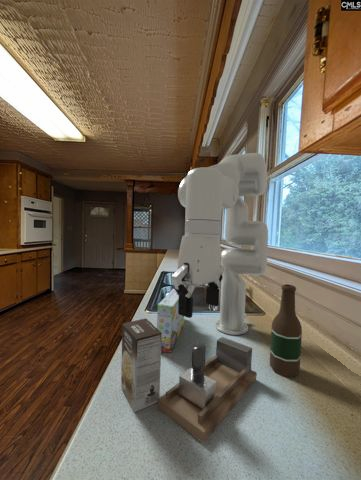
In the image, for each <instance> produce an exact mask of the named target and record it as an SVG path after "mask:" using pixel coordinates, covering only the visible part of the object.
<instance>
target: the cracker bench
mask: <svg viewBox="0 0 361 480" xmlns="http://www.w3.org/2000/svg"><path fill="white" fill-rule="evenodd" d="M252 356H253V347H251V346H248V345H245V344H243V343H240V342H238V341H234V340H232V339H230V338H227V337H224V336H221V337H220V338H218V339H217V340H216V352H215V355H214V356H212V357H211V358H210V359H209V360H207V361H205V376H207V377H209V378H211V379H213V380H214V381H216V397H215V398H214V399H213V400H212V401H211V402H210V403H209V404H208V405H207V406H206V407H205V408H204V409H202V408H201V407H199V406H198V405H196V404H195V403H193V402H191V401H190V400H188V399H187V398H185V397H184V396H182V395H181V394H179V382H178V383H177V384H175V385H174V386H173V387H171V388H169V389H168V390H167V391H165V393H164V394H162V395H160V396H159V399H158V402H157V409H158V410H159V411H161V412H162V413H163V414H165V416H168V417H169V418H170V419H171V420H172V421H174V422H175V423H176V424H177V425H179V426H180V427H182V428H183V429H184V430H186V431H187V432H188V433H189V434H191V435H192V436H194V437H195V438H196V439H197V440H199V441H200V442H202V443H205V442H206V440H207V439H208V438H209V437H210V436H211V435H212V433H213V432H214V431H215V429H217V427H218V426H219V425H220V424H221V423H222V421H223V420H224V419H225V418H226V417H227V416H228V414H229V413H230V412H231V411H232V409H234V407H235V406H236V405H237V403H238V402H239V401H240V400H241V399H242V398H243V396H244V395H245V394H246V393H247V391H249V389H250V388H251V387H252V386H253V384H254V383H255V382H256V381H257V371H254V370H252V360H253V359H252V358H253V357H252Z"/></svg>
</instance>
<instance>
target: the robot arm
mask: <svg viewBox="0 0 361 480" xmlns="http://www.w3.org/2000/svg"><path fill="white" fill-rule="evenodd" d="M267 172H268V170H267V163H266V159H265V158H264V156H263V155H262V154H261V153H259V152H252V153H251V152H249V153H237V154H231V155H227V156H225V157H224V158H222V160H220V161H219V162H218V163H216V164H214V165H211V166H208V167H205V166H204V167H195V168H192V169H191V170H189V171H188V173H187V175H186V176H185V177H184V178H183V179H182V180H181V182H180V184H179V187H178V190H177V197H178V201H179V203H180V205H181V206H182V207H184V208H185V212H184V213H185V216H184V217H185V219H184V220H185V221H184V235H182V236H181V237H182V238H181V240H180V241H181V242H180V245H179V251H178V259H177V270H176V271H175V272H174V273H172V275H171V276H170V277H171V278H170V279H171V282H172V285H173V289H175V291H176V293H177V295H179V302H178V314H179V315H182V316H184V318H188V319H191V318H192V317H193V314H194V312H193V310H194V309H193V308H194V307H193V306H194V297H193V296H192V294H193V292H194V290H195V288H196V287H199V286H204V285H206V286H205V288H206V290H205V304H208V305H210V306H213V307H218V306H219V320H217V321H216V322H215V328H216V330H217V331H219V332H221V333H224V334H227V335H234V336H238V335H244V334H246V333H247V332H248V331H249V326H248V325H247V324H246V323H245V319H246V318H247V317H248V315H247V313H246V295H247V294H246V293H247V286H246V282H245V280H244V278H243V277H242V276H241V275H250V276H251V275H253V276H263V275H265V273H266V271H267V266H268V248H269V247H268V246H269V229H268V228H269V227H268V226H267V224H266V222H264V221H262V220H261V221H260V220H249V210H250V209H249V206H248V204H247V203H246V201H244V200H243V198H242V197H257V196H258V197H259V196H262V195H264V194H265V193H266V191H267V189H268V188H267V187H268V173H267ZM223 210H226V211H225V229H224V238H225V242H226V243H228V244H229V245H234V246H249V247H250V246H251V247H254V249H249V248H248V249H247V248H237V247H236V248H235V247H230V248H225V249H223V250H221V247H222V246H221V236H222V235H221V233H222V211H223ZM186 286H188V288H186Z"/></svg>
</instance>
